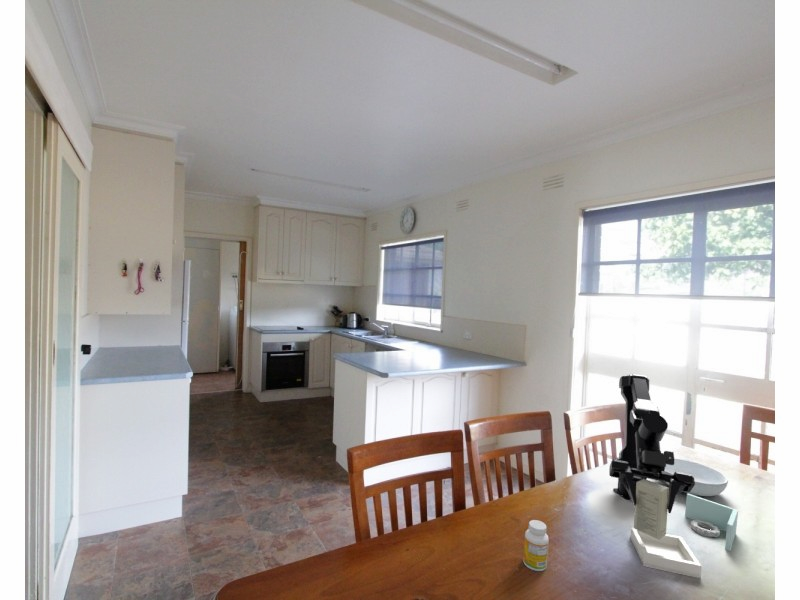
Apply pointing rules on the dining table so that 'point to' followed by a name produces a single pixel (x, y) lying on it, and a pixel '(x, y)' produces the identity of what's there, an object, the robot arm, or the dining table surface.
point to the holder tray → (665, 553)
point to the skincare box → (651, 508)
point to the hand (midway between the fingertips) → (652, 508)
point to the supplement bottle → (536, 546)
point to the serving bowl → (699, 477)
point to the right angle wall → (711, 518)
